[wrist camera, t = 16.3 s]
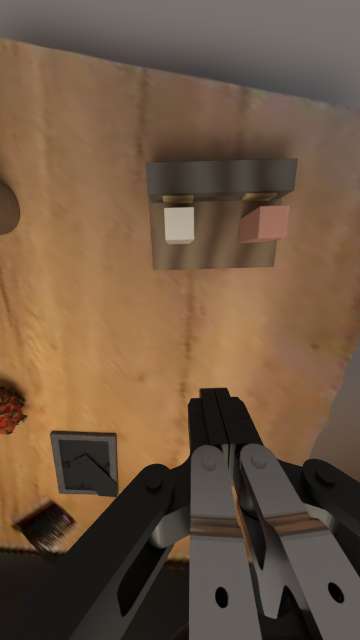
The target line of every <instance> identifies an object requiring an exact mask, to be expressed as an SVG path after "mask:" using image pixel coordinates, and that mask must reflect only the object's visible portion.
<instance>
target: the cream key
mask: <svg viewBox="0 0 360 640" xmlns="http://www.w3.org/2000/svg"><path fill="white" fill-rule="evenodd" d="M164 218H165V239H166V242H167V243H168V244H190V243H191V242H192V241H193V240H194V207H185V208H164Z"/></svg>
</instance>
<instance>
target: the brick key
mask: <svg viewBox="0 0 360 640" xmlns="http://www.w3.org/2000/svg"><path fill="white" fill-rule="evenodd" d="M289 211H290V206H260V207H259V208H257V209H256V210H254V211H252V212H251V213H249V214H248V215H246V216H244V217H243V218H241V219H240V235H239V243H257V242H265V241H271V240H276V239H281V238H286V237H287V228H288V220H289Z"/></svg>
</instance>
